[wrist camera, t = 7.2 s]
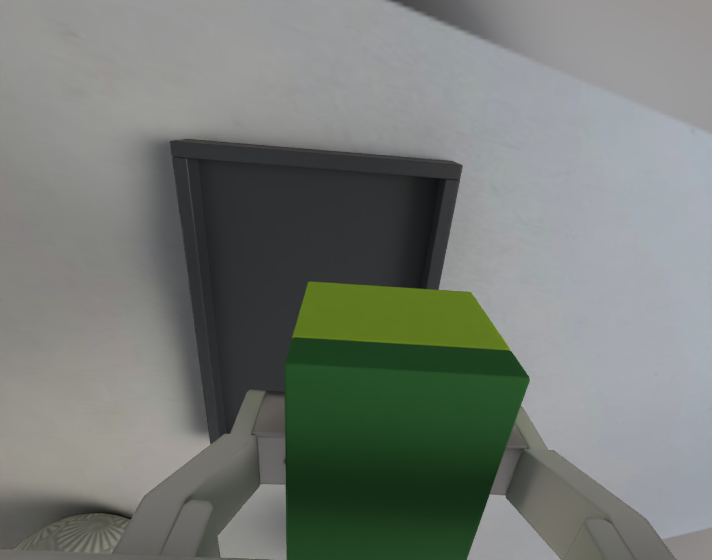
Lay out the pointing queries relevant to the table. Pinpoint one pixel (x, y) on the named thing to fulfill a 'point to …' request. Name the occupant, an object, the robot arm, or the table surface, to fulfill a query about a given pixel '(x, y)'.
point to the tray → (295, 246)
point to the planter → (78, 534)
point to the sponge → (393, 422)
